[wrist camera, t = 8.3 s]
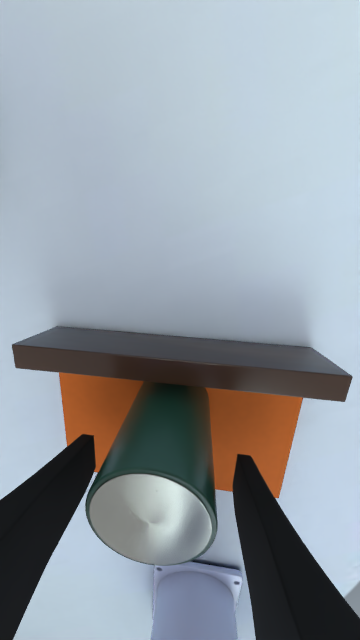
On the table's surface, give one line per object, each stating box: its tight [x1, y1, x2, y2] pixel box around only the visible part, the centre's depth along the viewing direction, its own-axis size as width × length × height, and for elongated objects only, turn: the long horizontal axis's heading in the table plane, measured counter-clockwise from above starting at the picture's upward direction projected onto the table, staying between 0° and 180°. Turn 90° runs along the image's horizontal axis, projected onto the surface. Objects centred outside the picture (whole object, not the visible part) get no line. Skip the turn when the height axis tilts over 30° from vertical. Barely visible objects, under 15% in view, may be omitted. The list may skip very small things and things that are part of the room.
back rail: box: [12, 326, 352, 402], centre depth 12 cm, size 1×17×4 cm, turn 87°
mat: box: [59, 372, 303, 498], centre depth 15 cm, size 11×17×1 cm, turn 87°
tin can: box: [86, 381, 217, 566], centre depth 11 cm, size 5×5×7 cm
